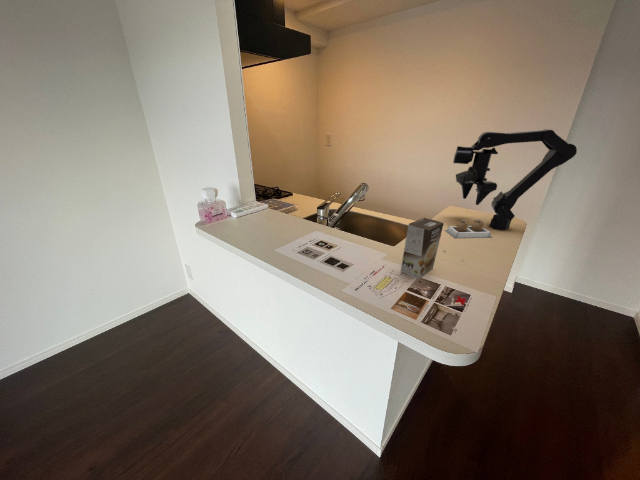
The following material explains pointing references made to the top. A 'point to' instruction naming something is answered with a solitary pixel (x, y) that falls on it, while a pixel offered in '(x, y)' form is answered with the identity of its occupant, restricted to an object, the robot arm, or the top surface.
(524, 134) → the robot arm
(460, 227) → the brown cylinder
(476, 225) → the brown housed cylinder
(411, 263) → the coffee box
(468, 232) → the housing
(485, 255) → the top surface
